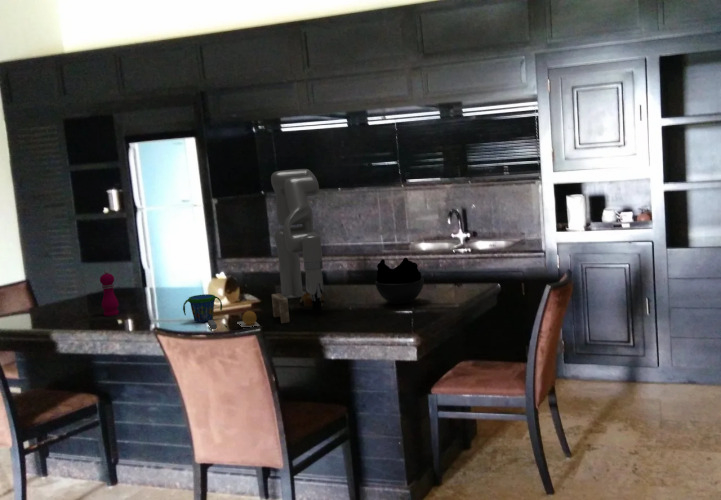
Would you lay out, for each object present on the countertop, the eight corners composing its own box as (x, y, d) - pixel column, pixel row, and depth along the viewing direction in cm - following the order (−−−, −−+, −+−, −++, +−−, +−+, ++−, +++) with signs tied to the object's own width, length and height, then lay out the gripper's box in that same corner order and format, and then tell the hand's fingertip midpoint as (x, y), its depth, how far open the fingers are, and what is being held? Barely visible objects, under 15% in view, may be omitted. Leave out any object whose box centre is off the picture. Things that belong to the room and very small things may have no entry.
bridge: (282, 323, 296) (280, 300, 295) (273, 316, 309) (271, 294, 308) (289, 322, 297) (287, 299, 296) (280, 315, 310) (278, 293, 309)
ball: (240, 311, 299) (254, 309, 300) (241, 325, 299) (255, 323, 301) (243, 312, 293) (257, 311, 295) (244, 326, 294) (258, 325, 295)
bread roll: (317, 315, 322) (324, 298, 320) (295, 306, 323) (301, 289, 322) (323, 310, 332) (329, 293, 330) (301, 301, 333) (308, 284, 331)
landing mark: (223, 324, 302) (223, 324, 302) (253, 320, 306) (253, 319, 306) (229, 330, 290) (228, 330, 290) (259, 325, 294) (259, 325, 294)
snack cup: (222, 316, 318) (220, 292, 316) (224, 321, 308) (221, 296, 306) (184, 320, 314) (181, 296, 313) (184, 326, 304) (181, 301, 303)
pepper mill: (123, 312, 341) (117, 268, 338) (113, 316, 334) (107, 271, 332) (109, 312, 344) (104, 268, 341) (99, 316, 337) (93, 271, 334)
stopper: (208, 326, 300) (207, 320, 299) (213, 326, 300) (212, 319, 300) (212, 331, 291) (211, 325, 291) (217, 330, 292) (216, 324, 292)
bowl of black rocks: (435, 300, 316) (432, 256, 313) (404, 310, 302) (401, 264, 299) (398, 296, 330) (395, 254, 327) (367, 306, 315) (363, 261, 313)
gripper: (299, 264, 311) (303, 308, 314) (309, 269, 297) (313, 315, 300) (317, 262, 314) (320, 305, 316) (327, 266, 300) (331, 312, 302)
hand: (317, 310), depth 308 cm, fingers closed
